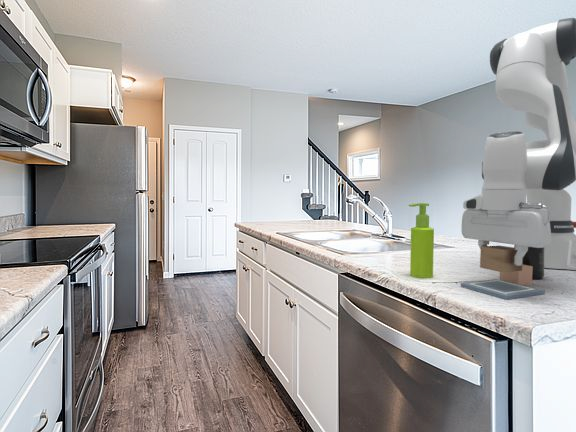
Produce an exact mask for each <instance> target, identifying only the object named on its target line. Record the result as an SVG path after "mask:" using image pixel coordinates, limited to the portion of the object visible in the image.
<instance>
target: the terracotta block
mask: <svg viewBox="0 0 576 432" xmlns="http://www.w3.org/2000/svg"><path fill="white" fill-rule="evenodd" d="M532 271H533V266H528V265H522V271H514V272H505V273H502V272H499V280H503V281H508V282H512V283H516V284H520V285H524V286H528V285H532V284H533V279H532Z"/></svg>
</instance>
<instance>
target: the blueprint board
mask: <svg viewBox="0 0 576 432" xmlns="http://www.w3.org/2000/svg"><path fill="white" fill-rule="evenodd" d="M460 287H461V288H465V289H468V290H472V291H475V292H479V293H482V294H486V295H489V296H492V297H495V298H499V299H503V300H506V301H507V300H512V299H513V300H514V299H520V298H527V297H534V296H539V295H540V296H541V295H545V293H546V291H545V289H542V288H541V289H540V288H536V287H532V286H528V285H520V284H516V283H512V282H508V281H503V280H500V278H493V279H486V280H485V279H484V280H477V281H468V282H462V283H460Z"/></svg>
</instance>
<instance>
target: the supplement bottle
mask: <svg viewBox="0 0 576 432" xmlns="http://www.w3.org/2000/svg"><path fill="white" fill-rule="evenodd" d="M513 248H515V245H513ZM522 265H528V266H533V271H532V280H542V279H543V278H544V277H545V268H544V247H543V248H535V247H528V251H527V252H526V254H525V255H524V257H523V260H522Z"/></svg>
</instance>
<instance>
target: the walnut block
mask: <svg viewBox="0 0 576 432" xmlns="http://www.w3.org/2000/svg"><path fill="white" fill-rule="evenodd" d="M517 251H518V250H515V248H514V246H506V245H487V246H483V247H481V249H480V255H479V256H480V258H479V259H480V260H479V267H480V269H485V270H488V271H489V270H490V271H495V272H499V273H500V272H502V273H505V272H514V271H522V265H520V266H516V265H511V257H514V256H515V255H516V253H517ZM522 260H523V257H522Z"/></svg>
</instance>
